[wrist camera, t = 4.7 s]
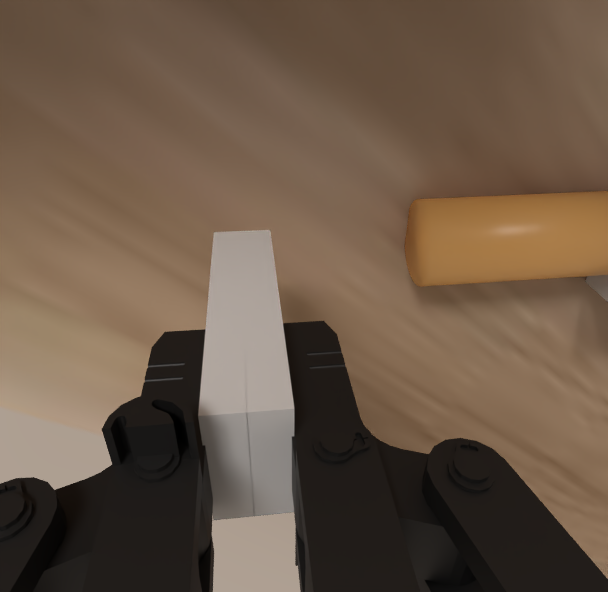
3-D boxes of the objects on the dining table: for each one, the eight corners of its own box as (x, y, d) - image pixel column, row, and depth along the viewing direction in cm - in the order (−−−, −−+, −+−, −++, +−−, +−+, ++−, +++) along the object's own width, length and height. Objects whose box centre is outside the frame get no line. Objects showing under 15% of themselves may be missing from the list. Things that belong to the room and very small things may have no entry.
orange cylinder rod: (401, 212, 19) (408, 291, 18) (428, 187, 16) (437, 280, 15) (645, 201, 20) (655, 275, 19) (714, 175, 17) (728, 262, 16)
